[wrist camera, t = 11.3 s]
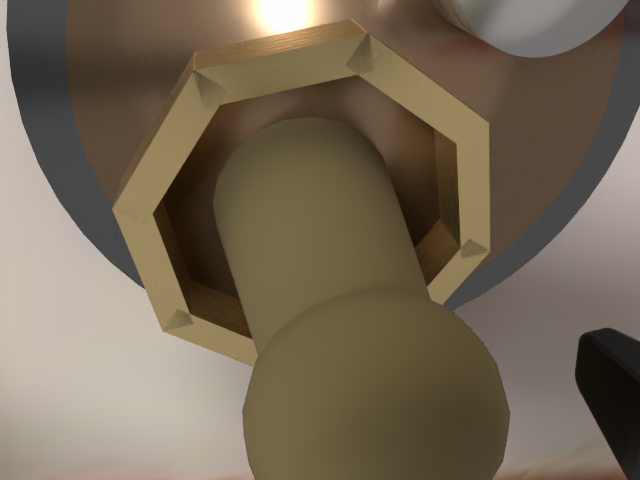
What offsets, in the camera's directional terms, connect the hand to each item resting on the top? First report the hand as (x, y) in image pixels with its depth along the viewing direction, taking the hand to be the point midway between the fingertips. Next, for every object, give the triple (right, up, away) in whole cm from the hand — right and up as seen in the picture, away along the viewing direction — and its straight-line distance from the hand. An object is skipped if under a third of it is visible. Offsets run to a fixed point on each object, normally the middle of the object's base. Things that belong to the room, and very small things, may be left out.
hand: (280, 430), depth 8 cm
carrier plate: (+2, +8, +11) cm, 13 cm away
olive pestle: (0, +4, +11) cm, 12 cm away
